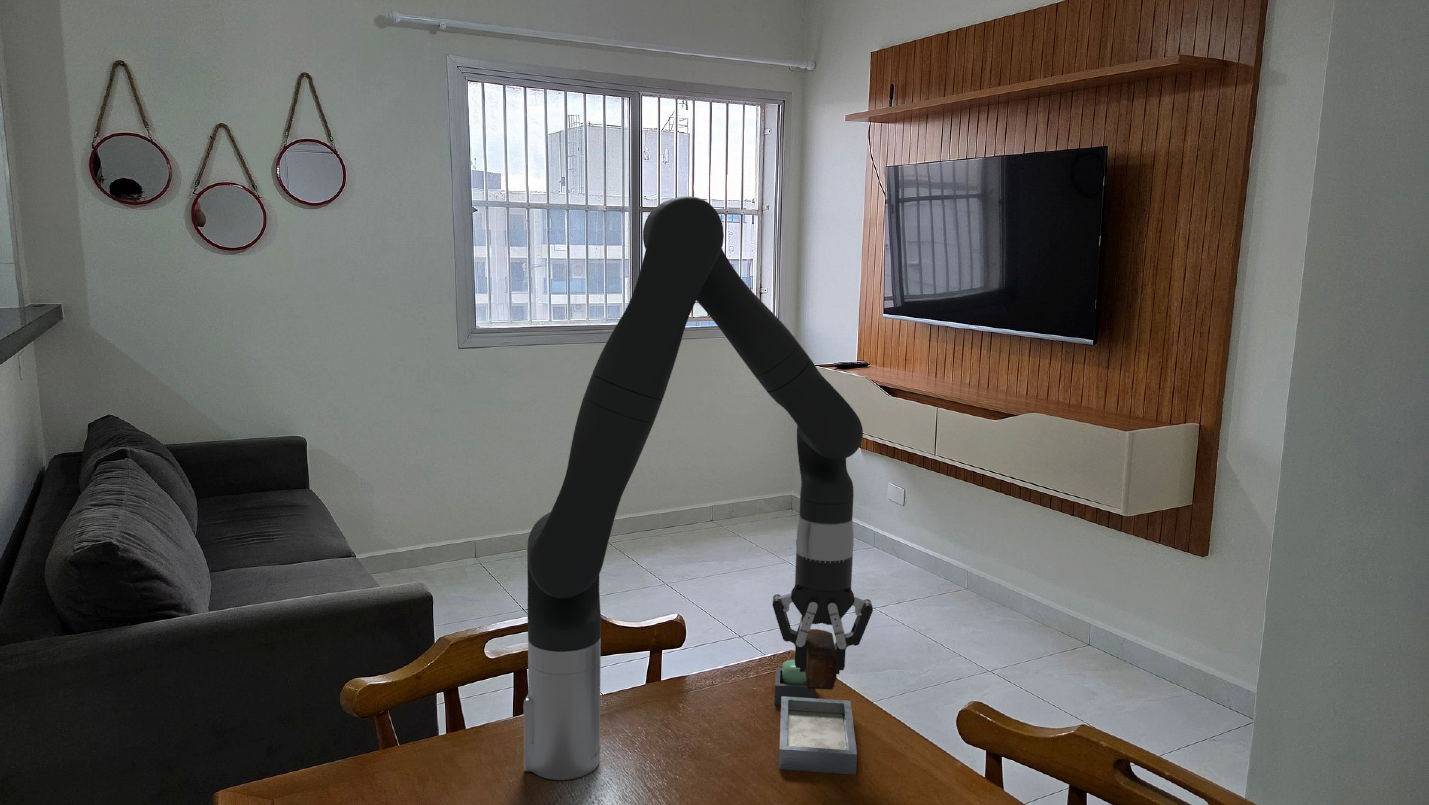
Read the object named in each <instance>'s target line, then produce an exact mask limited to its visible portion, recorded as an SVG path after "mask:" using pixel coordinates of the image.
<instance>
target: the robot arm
mask: <svg viewBox="0 0 1429 805" xmlns="http://www.w3.org/2000/svg"><path fill="white" fill-rule="evenodd" d="M724 237H725V234H724V225H723V222H722V219H721V216H720V214H719V213H718V211H717V210H716V208H715V207H714V206H713V205H712V204H711V203H709V202H708V201H706V200H704V199H703V198H700V197H697V196H689V195H688V196H687V195H683V196H677V197H674V198H670V199H668V200H666V201H663V202H661V203H660V204H658V205H657V206H655V207H654V208H653V209H652V210H651V212H650V213H649V214H648V215H647V217H646V219H645V222H644V225H643V228H642V241H643V246H644V248H645V251H644V255H643V259H642V263H641V266H640V270H639V273H638V277H637V280H636V284H635V287H634V290H633V292H632V296H631V297H630V300H629V302H628V304H627V305H626V308H625V310H624V312H623V313H622V315H621V316H620V319H619V320H618V322H617V323H616V325H615V327H614V328H613V330H612V332H611V334H610V335H609V338H608V339H607V341H606V343H605V345H604V346H603V349H602V351H601V353H600V355H599V357H598V359H597V361H596V363H595V366H594V369H593V370H592V373H591V376H590V379H589V381H588V383H587V387H586V390H585V392H584V396H583V397H582V401H581V404H580V407H579V410H578V414H577V419H576V423H575V425H574V426H575V427H574V431H573V434H572V441H571V445H570V451H569V457H568V462H567V467H566V472H565V475H564V478H563V482H562V485H561V488H560V490H559V493H558V495H557V497H556V500H555V501H554V504H553V506H552V509H551V511H550V512H548V513H546V514H544V515H543V516H541V518H539V519H538V520H537V521H536V522H535V523H534V525H533V527H532V528H531V530H530V532H529V536H528V539H527V545H526V546H527V549H526V552H527V557H526V560H527V563H526V564H527V566H526V568H527V649H528V650H527V657H528V658H527V665H528V666H527V668H528V669H527V673H528V675H527V678H528V682H527V683H528V684H527V685H528V688H527V689H528V690H527V691H528V693H527V695H526V697H525V698H524V700H523V704H522V705H523V706H522V707H523V771H524V772H532V773H533V774H536V775H537V776H538V777H541V778H544V779H547V780H555V781H566V780H573V779H578V778H581V777H584V776H586V775H588V774H590V773H591V772H593V771H594V770H596V768H597V767H598V765H599V764H600V758H601V757H600V756H601V752H600V751H601V647H602V646H601V645H602V644H601V640H602V639H601V635H602V615H601V601H600V600H601V599H600V598H601V597H600V574H601V571H602V569H603V565H604V562H605V558H606V552H607V549H608V544H609V541H610V540H609V539H610V536H611V533H612V528H613V525H614V522H615V518H616V515H617V512H618V509H619V505H620V502H621V500H622V496H623V494H624V492H625V490H626V487H627V486H628V483H629V480H630V479H631V477H632V475H633V473H634V471H635V468H636V465H637V463H638V461H639V459H640V457H641V454H642V452H643V450H644V447H645V445H646V442H647V440H648V437H649V436H650V433H651V431H652V428H653V426H654V423H655V421H656V418H657V415H658V412H659V410H660V408H661V405H662V401H663V399H664V396H665V394H666V392H667V387H668V386H669V385H668V384H669V381H670V379H671V375H672V373H673V370H674V366H675V363H676V360H677V358H678V353H679V349H680V348H681V347H680V346H681V343H682V339H683V336H684V332H685V329H686V326H687V323H688V320H689V317H690V315H691V313H692V311H693V308H694V306H695V304H696V302H697V303H698V304H699V305H700V306H701V308H703V310H704V311H705V312H706V313H707V315H708V316H710V318H711V319H712V321H713V322H714V323H715V324H716V326H717V327H718V329H719V330H720V331H721V332H722V334H723V335H724V336H725V338H726V339H727V340H728V341H729V342H728V343H730V344H731V346H732V347H733V349H734V351H735V352H736V353H737V354H738V356H739V357H740V358H741V360H742V361H743V362H744V364H745V365H746V367H747V368H748V369H749V371H750V372H751V373H752V375H753V376H754V377H755V378H756V379H757V381H758V382H759V383H760V385H761V386H762V387H763V389H764V390H765V391H766V392H767V394H768V395H769V396H770V397H771V399H773V400H774V401H775V403H777V404H778V405H780V406H781V408H783V409H784V410H785V411H786V412H787V413H788V415H790V417H791V418H792V420H793V422H795V424H796V426H797V427H796V445H797V446H796V448H797V457H798V465H799V467H798V468H799V472H800V481H801V482H800V494H799V517H798V524H797V530H796V539H795V546H796V550H795V571H794V572H795V577H794V579H795V580H794V587H793V588H792V590H791V592H790V593H788V594H784V595H780V594H778V593H777V594H774V595H773V597H772V608H773V611H774V615H775V618H776V621H777V625H778V628H779V631H780V634H781V638H782V640H783V641H784V642H786V643H787V642H790V643H792V644H794V649H795V650H794V660H795V666H796V668H800V672H805V655H806V638H807V635H808V633H809V631H810V629H812V628H811V627H812V625H819V624H824V625H827V626H832V630H833V634H834V637H835V642H834V645H835V651H836V656H837V674H836V675H840V671H844V670H845V667H846V649H847V648H848V647H850V646H859V645H860V643H861V642H862V641H861V640H862V638H863V635H864V633H865V631H866V628H867V626H868V623H869V621H870V619H871V616H872V614H873V611H874V607H873V603H872V601H871V600H870V598H869V599H868V598H866V599H865V598H864V599H862V598H860V597H859V598H858V597H856V596H855V594H854V592H853V590H852V582H853V580H852V579H853V559H854V558H853V557H854V554H853V552H854V524H853V514H854V512H853V511H854V494H855V493H854V484H853V483H854V482H853V480H852V478H851V476H850V475H849V472H848V469H847V458H850V457H851V456H853V455H854V454H855V453H856V452H857V451H858V450H859V448H860V447H861V445H862V441H863V439H864V430H863V424H862V421H861V419H860V418H859V416H858V414H857V413H856V411H855V410H854V409H853V408H852V406H851V405H850V404H849V403H848V401H846V399H845V398H844V397H843V396H842V395H841V393H839V392H838V391H837V389H835V388H834V386H833V385H832V384H831V383H830V382H829V381H828V380H827V379H826V378H825V377H824V376H823V374H822V373H821V372H820V371H819V369H818V368H817V366H816V365H815V363H814V362H813V360H812V359H811V357H810V356H809V355H808V354H807V352H806V351H805V350H804V348H803V347H802V345H801V344H800V343H799V341H798V340H797V339H796V338H795V336H794V335H793V334H792V332H791V331H790V330H789V329H788V328H787V326H786V325H785V324H784V323H783V322H782V321H781V320H780V319H779V317H777V316H776V314H774V312H772V311H771V309H769V307H768V306H767V305H766V304H765V303H764V302H763V301H762V300H761V299H760V298H759V297H758V296H757V295H756V294H755V293H754V292H753V291H752V290H751V288H750V287H749V286H748V285H747V284H746V283H745V281H744V280H743V279H742V277H741V276H740V275H739V274H738V272H737V271H736V269H735V268H734V266H733V265H732V264H731V262H730V261H729V259H728V256H726V254H725V252H724V249H723V244H724V239H725V238H724ZM791 603H793V605H794V607H795V608H796V609H797V610H798V613H799V614H800V615H801V617H800V620H799V624H798V626H797V630H795V629H792V626H791V623H790V621H789V617H788V612H789V611H790V604H791ZM852 606H853V607H854V613H855V615H856V618H855V620H854V621H853V622H854V623H853V626H852V627H851V630H850V631H849V632H847V633H845V629H844V626H843V621H842V618H843V617H844V616H845V615H846V614H847V613H848V611H849V610H850V609H851V608H852Z"/></svg>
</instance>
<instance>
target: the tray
mask: <svg viewBox="0 0 1429 805" xmlns="http://www.w3.org/2000/svg"><path fill="white" fill-rule="evenodd" d="M852 711H853V710H852V702H851V700H842V699H830V698H829V699H828V698H816V697H815V698H800V697H785V696H781V705H780V720H779V721H780V724H779V727H780V728H779V750H778V752H779V753H778V754H779V755H778V770H784V771H785V770H787V771H788V770H789V771H799V772H813V773H815V772H816V773H828V774H829V773H830V774H841V775H842V774H844V775H854V776H856V775H857V762H858V761H857V760H858V751H857V744H856V736H855V735H856V734H855V727H854V719H853V712H852Z"/></svg>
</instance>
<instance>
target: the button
mask: <svg viewBox="0 0 1429 805" xmlns="http://www.w3.org/2000/svg"><path fill="white" fill-rule="evenodd" d="M782 682H783V683H784V684H795V685H807V683H806V673H805V672H800V668H796V666H795V659H788V660H786V661H784V662H783V663H782Z"/></svg>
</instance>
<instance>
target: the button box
mask: <svg viewBox="0 0 1429 805" xmlns="http://www.w3.org/2000/svg"><path fill="white" fill-rule="evenodd" d="M782 668H783V667H782ZM782 668H779V667H776V668H775V678H774V679H775V680H774V683H775V684H774V705H779V706H781V696H785V697H800V698H816V689H808V688H807V685H795V684H784V683H783V682H782Z"/></svg>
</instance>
